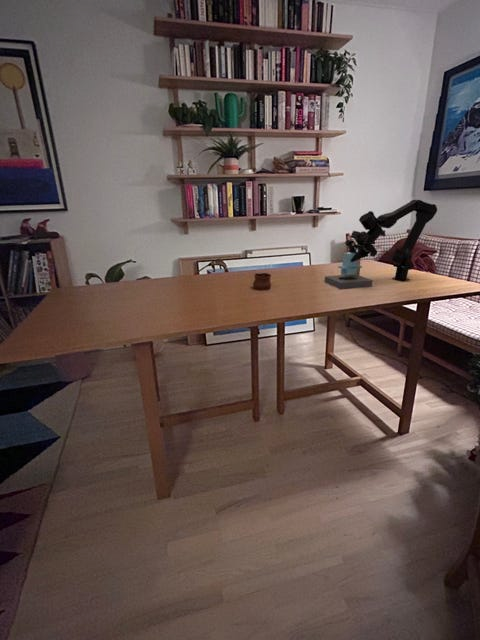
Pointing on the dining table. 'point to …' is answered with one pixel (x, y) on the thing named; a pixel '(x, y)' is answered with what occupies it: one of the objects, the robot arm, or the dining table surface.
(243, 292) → the dining table surface
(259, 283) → the ceramic pot
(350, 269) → the servo
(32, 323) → the dining table surface
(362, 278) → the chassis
